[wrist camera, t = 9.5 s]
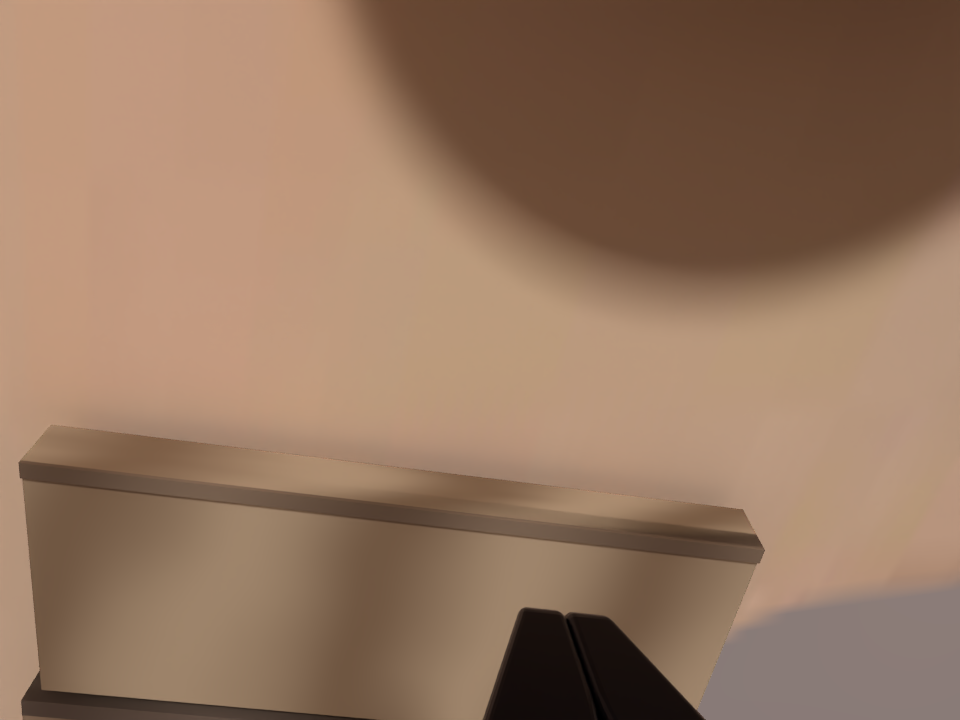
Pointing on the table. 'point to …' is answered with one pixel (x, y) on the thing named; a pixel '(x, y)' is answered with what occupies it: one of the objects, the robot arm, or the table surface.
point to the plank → (347, 576)
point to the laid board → (140, 708)
